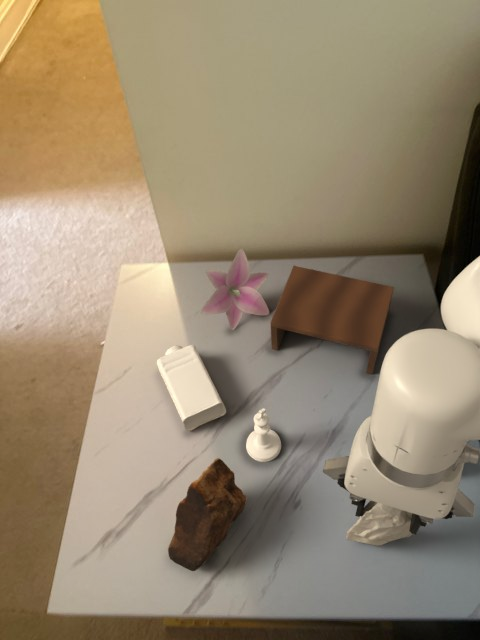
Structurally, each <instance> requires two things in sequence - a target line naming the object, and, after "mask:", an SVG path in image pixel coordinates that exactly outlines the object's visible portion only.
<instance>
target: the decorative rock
mask: <svg viewBox="0 0 480 640" xmlns="http://www.w3.org/2000/svg"><path fill="white" fill-rule="evenodd" d="M247 499H248V498H247V495H245V494H244V492H243V490H242V489H241V488H240V487H238V485H237V483H236V477H235V473H234V471H233V470H231V468H230V467H229V466H228V465H227V464H226V463H225V462H224V461H223V460H222V459H221V458H219V457H218V458H215V459H214V461H212V463H211V464H210V465H208V466H207V468H206V469H205V470H203V471H202V473H201V475H200V476H199V477H198V478H197V479H196V480H194V481H192V482H191V483H190V484H189V486H188V488H187V492H186V496H185V497H184V498H183V499H182V500H181V501H180V502H179V503H178V505H177V507H176V511H175V523H174V533H173V535H172V538H171V541H170V543H169V546H168V548H167V551H168V557H169V559H170V560H171V561H172V562H173V563H175V564H176V565H178V566H180V567H183V568H184V569H186V570H188V571H191V572H196V571H197V570H198V569H200V568H201V567H202V566H203V565H204V564H206V562H207V561H208V560H209V559H210V557H211V556H212V555H213V553H214V552H215V550H216V549H218V548H219V547H220V546H221V545H222V544H223V542H224V540H225V539H227V536H228V533H229V530H230V528H231V525H232V524H233V523H234V522H236V521H237V519H238V518H239V516H240V515H242V513H243V512H244V510H245V507H246V502H247Z"/></svg>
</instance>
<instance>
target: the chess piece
mask: <svg viewBox="0 0 480 640" xmlns="http://www.w3.org/2000/svg"><path fill="white" fill-rule="evenodd" d="M266 411H267V410H266V408H264V407H262V408H261V409H259V410H258V412H257V413H256V414H254V416H253V422H254V425H253V429H254V430H252V432H251V433H250V434H249V435H248V437H247V438H246V443H245V448H246V452H247V454H248V455H249V456H250V458H252V459H253V460H255V461H256V462H261V463H268V462H270V461H273V460H275V459H276V458H277V457H278V456H279V454H280V452H281V449H282V441H281V438H280V436H279V435H278V433H277V432H276V431H274V430H273V429H271V425H270V416H269V415H268V414H267V413H266Z"/></svg>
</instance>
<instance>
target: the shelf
mask: <svg viewBox="0 0 480 640" xmlns="http://www.w3.org/2000/svg"><path fill="white" fill-rule="evenodd" d="M394 290H395V287H394V286H391V285H387V284H382V283H378V282H372V281H368V280H363V279H359V278H354V277H350V276H349V277H348V276H344V275H339V274H335V273H330V272H325V271H320V270H317V269H311V268H306V267H303V266H302V267H301V266H298V265H292V268H291V270H290V274H289V275H288V279H287V281H286V283H285V286H284V288H283V291H282V293H281V296H280V298H279V301H278V303H277V304H276V305H277V306H276V308H275V310H274V313H273V315H272V317H271V320H270V340H271V341H270V343H271V350H274V351H279V348H280V346H281V342H282V341H283V338H284V335H285V332H286V331H288V332H292V333H296V334H301V335H304V336H309V337H313V338H317V339H320V340H325V341H329V342H333V343H337V344H341V345H346V346H349V347H353V348H358V349H361V350H365V351H366V350H367V351H369V355H368V360H367V365H366V370H365V373H366V374H368V375H373V374H374V370H375V366H376V362H377V359H378V356H379V355H378V354H379V351H380V347H381V343H382V339H383V336H384V331H385V327H386V324H387V320H388V315H389V312H390V307H391V303H392V299H393V293H394Z"/></svg>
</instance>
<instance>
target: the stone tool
mask: <svg viewBox="0 0 480 640" xmlns="http://www.w3.org/2000/svg"><path fill="white" fill-rule="evenodd" d="M411 520H412V513H410V512H407V511H403V510H400V509H397V508H394V507H390V506H387V505H384V504H381V503H377V502H374V501H371V500H369V501H368V502H367V504H365V506H364V510H363V514H362V516H360V517H358V519H357V521H356V522H355V523H354V524H353V525H352V526H351V527H350V528H348V530H347V531H346V540H347V541H350V542H358V543H363V544H368V545H372V546H382V545H385V544H387V543H390V542H392V541H396V540H400V539H404V538H410V537H411V536H412V535H414V534H411V532H409V529H410V524H411Z"/></svg>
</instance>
